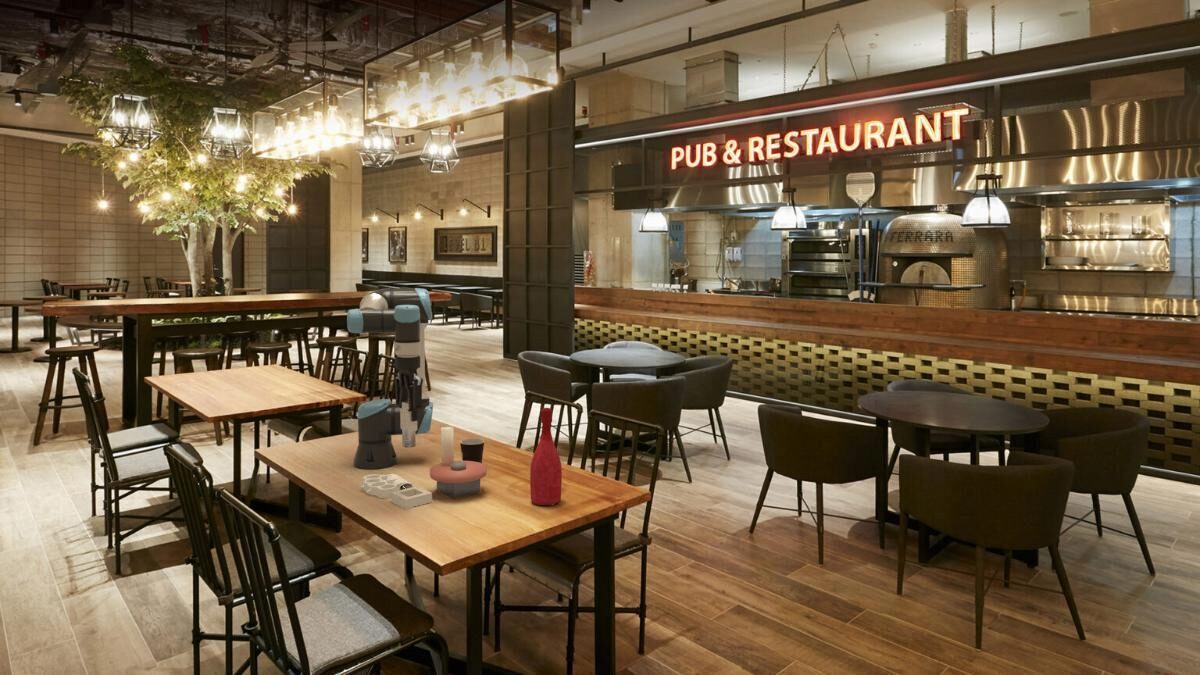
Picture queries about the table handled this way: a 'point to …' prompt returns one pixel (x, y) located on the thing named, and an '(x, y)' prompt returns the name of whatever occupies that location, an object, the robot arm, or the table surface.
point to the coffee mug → (472, 450)
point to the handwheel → (455, 463)
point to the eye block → (411, 497)
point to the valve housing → (458, 489)
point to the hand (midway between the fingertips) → (408, 429)
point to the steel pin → (407, 437)
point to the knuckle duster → (383, 484)
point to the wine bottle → (546, 466)
